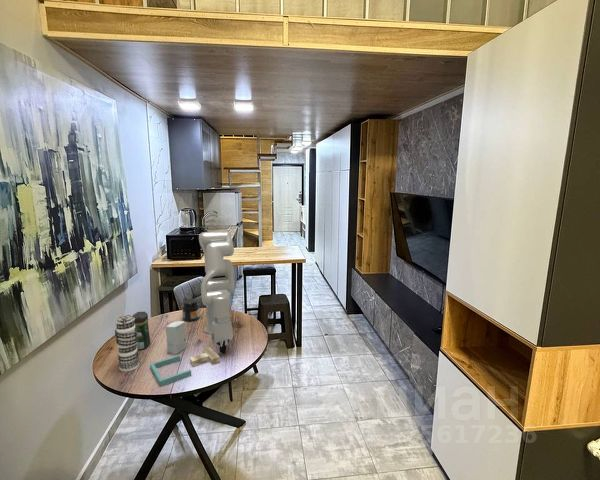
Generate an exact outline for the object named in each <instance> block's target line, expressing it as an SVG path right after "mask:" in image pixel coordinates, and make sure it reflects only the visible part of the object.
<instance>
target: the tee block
mask: <svg viewBox="0 0 600 480" xmlns="http://www.w3.org/2000/svg"><path fill="white" fill-rule="evenodd" d="M220 359H221V358H220V356H219V355H218V354H217V352H215V350H214V349H212V348H211V346H210V347H206V348H203V349H202V353H201V354H197V355H194V356H192V357H189V365H190V366H191V367H192V368H194V367H197V366H199V365H203V364H206V363H210V365H212V366H214V365H216V364H219V363H221V360H220Z"/></svg>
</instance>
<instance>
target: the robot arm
mask: <svg viewBox="0 0 600 480" xmlns="http://www.w3.org/2000/svg"><path fill="white" fill-rule="evenodd" d="M198 242H199V246H200V247H201V249H202V251H203V259H204V272H205V276H204V277H203V279H202V280H201V285H200V293H201V294H200V295H201V302H202V305H203V306H205V307H206V309H205V310H206V326H205V328H204V332H205V333H206V334H210V335H211V337H210V338H211V340H212V341H211V342H212V343H211V344H212V345H213V346H219V353H221V354H222V355H225V354H226V353H227V346H228V344H229V342H230V341H232V340H233V339H234V338H233V337H234V332H233V325H232V320H231V318H232V316H233V315H232V314H231V313H230V305H229V304H230V300H231V293H233V292H234V289H235V281H234V279H235V277H234V266H233V262H232V260H230V259H224V257H232V256H233V255H234V253H235V247H234V242H233V240H232V236H231V233H230V232H229V231H228V230H216V231H212V230H211V231H203V232H201V233H199V235H198ZM221 276H222V277H221ZM223 276H225V277H223ZM215 277H217V278H215Z"/></svg>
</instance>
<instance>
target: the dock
mask: <svg viewBox="0 0 600 480" xmlns="http://www.w3.org/2000/svg"><path fill="white" fill-rule="evenodd" d="M180 361H181V355H179V354H178V355H177V354H176V355H174V356H171V357H168V358H165V359H162V360H159V361H158V360H157V361H154V362H152V363H150V364H149V367H150V371H151V372H152V374H153V376H154V378H155V380H156V381H157V384H158V386H159V387H164V386H167V385H169V384H171V383H175V382H177V381H181V380H183V379H186V378H189V377H191V376H192V370H191V369H188V370H185V371H182V372H179V373H176V374H173V375H171V376H170V375H169V376H168V377H164V378H163V377H162V376H161V373H160V371H159V370H158V368H161V367H164V366H168V365H172V364H173V363H177V362H180Z"/></svg>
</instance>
